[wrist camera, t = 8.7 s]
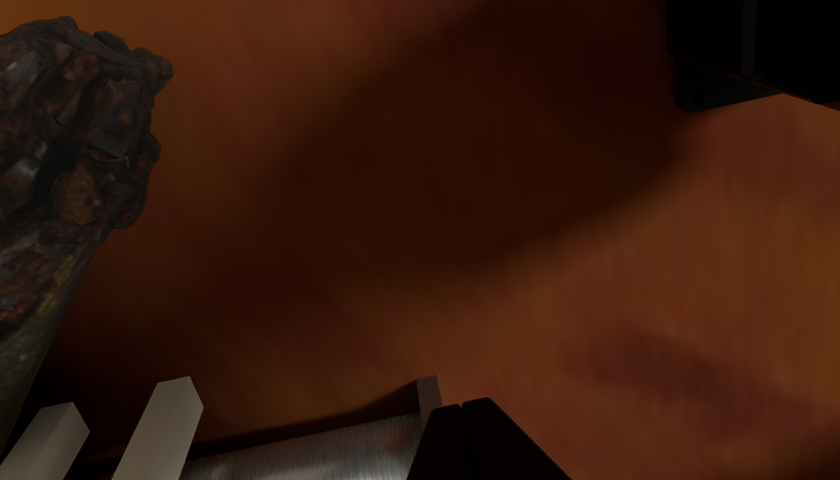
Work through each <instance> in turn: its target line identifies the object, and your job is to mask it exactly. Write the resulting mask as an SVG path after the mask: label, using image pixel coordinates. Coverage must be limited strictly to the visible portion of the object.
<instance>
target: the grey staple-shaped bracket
mask: <svg viewBox="0 0 840 480" xmlns="http://www.w3.org/2000/svg"><path fill="white" fill-rule="evenodd" d="M203 408H204V406H203V404H202V402H201V400H200V398H199V396H198V393H197V391H196V389H195V387H194V385H193V383H192V380H191V378H190V376H187V377H182V378H178V379H173V380H169V381H164V382H159V383H157V385H156V387H155V389H154V392H153V394H152V396H151V398H150V400H149V402H148V404H147V406H146V408H145V410H144V413H143V415H142V417H141V419H140V421H139V423H138V425H137V427H136V429H135V431H134V434H133V436H132V438H131V440H130V442H129V444H128V446H127V448H126V450H125V452H124V455H123V457H122V459H121V461H120V463H119V465H118V467H117V469H116V471H115V473H114V476H113V478H112V480H179V477H180V474H181V471H182V468H183V465H184V462H185V459H186V457H187V454H188V451H189V448H190V445H191V442H192V439H193V437H194V434H195V431H196V428H197V425H198V422H199V419H200V416H201V414H202V411H203ZM89 433H90V430H89V429H88V427H87V425H86V424H85V422H84V420H83V418H82V417H81V415H80V413H79V411H78V410H77V408H76V406H75V405H74V403H73V401H72V402H67V403H63V404H58V405H54V406H49V407H44V408H41V409H40V410H39V412H38V413H37V414H36V416H35V417H34V419H33V420H32V421H31V423H30V424H29V426H28V427H27V429H26V430H25V431H24V433H23V434H22V436H21V437H20V438H19V440H18V441H17V443H16V444H15V445H14V447H13V448H12V450H11V451H10V453H9V454H8V455H7V457H6V458H5V460H4V461H3V462H2V464H1V465H0V480H63V479H64V477H65V475H66V473H67V472H68V470H69V468H70V466H71V465H72V463H73V461H74V459H75V458H76V456H77V454H78V452H79V451H80V449H81V447H82V445H83V444H84V442H85V440H86V438H87V436H88V435H89Z"/></svg>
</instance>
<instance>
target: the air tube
mask: <svg viewBox="0 0 840 480" xmlns="http://www.w3.org/2000/svg"><path fill="white" fill-rule="evenodd" d="M416 381H417V389H418V397H419V404H420V411H419V412H414V413H410V414H405V415H400V416H396V417H391V418H386V419H381V420H377V421H372V422H367V423H363V424H358V425H353V426H349V427H344V428H339V429H334V430H330V431H325V432H320V433H316V434H311V435H306V436H302V437H297V438H292V439H287V440H283V441H278V442H273V443H269V444H264V445H259V446H255V447H250V448H245V449H240V450H236V451H231V452H226V453H222V454H217V455H212V456H207V457H203V458H198V459H193V460H189V461H185V462H184V465H183V468H182V471H181V474H180V477H179V480H406V479H407V476H408V473H409V470H410V468H411V465H412V462H413V459H414V457H415V454H416V451H417V448H418V446H419V443H420V440H421V437H422V435H423V432H424V429H425V426H426V424H427V421H428V418H429V416H430V413H431V411H432V410H433V409H435V408H439V407H444V406H443V401H442V397H441V392H440V388H439V383H438V379H437V375H434V376H429V377H425V378H420V379H416ZM114 473H115V472H112V473H108V474H104V475H102V476H101V477H99V478H98V479H97V480H112V478H113V476H114Z"/></svg>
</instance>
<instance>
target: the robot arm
mask: <svg viewBox="0 0 840 480" xmlns="http://www.w3.org/2000/svg"><path fill="white" fill-rule="evenodd" d="M667 51H668V54H670V55H671V56H672V57H673V58H674V99H675V103H676V104H677V106H678V107H679V108H682V109H684V110H686V111H688V112H699V111H704V110H708V109H713V108H717V107H722V106H727V105H731V104H736V103H740V102H745V101H750V100H754V99H759V98H763V97H768V96H772V95H777V94H782V93H784V94H787V95H790V96H793V97H797V98H800V99H803V100H806V101H809V102H812V103H815V104H819V105H822V106H825V107H828V108H832V109H835V110H838V111H840V0H667ZM695 88H697V92H698V93H697V96H696V98H695V99H694V100H693V101H691V102H689V101H688V95H689V93H690V92H691V91H692V90H693V89H695ZM462 412H463V414H462ZM463 417H464V418H463ZM464 421H465V422H464ZM465 426H466V427H465ZM466 430H467V431H466ZM467 435H468V436H467ZM468 439H469V440H468ZM469 444H470V445H469ZM470 448H471V449H470ZM471 453H472V454H471ZM472 457H473V458H472ZM474 466H475V467H474ZM476 475H477V476H476ZM406 480H571V479H570V478H569V477H568V476H567V475H566V474H565V472H564V471H563V470H562V469H561V468H560V467H559V466H558V465H557V464H556V463H555V462H554V461H553V460H552V459H551V458H550V457H549V456H548V455H547V454H546V453H545V452H544V451H543V450H542V449H541V448H540V447H539V446H538V445H537V444H536V443H535V442H534V441H533V440H532V439H531V438H530V437H529V436H528V435H527V434H526V433H525V432H524V431H523V430H522V429H521V428H520V427H519V426H518V425H517V424H516V423H515V422H514V421H513V420H512V419H511V418H510V417H509V416H508V415H507V414H506V413H505V412H504V411H503V410H502V409H501V408H500V407H499V406H498V405H497V404H496V403H495V402H494V401H493V400H491V399H490V398H488V397H484V398H480V399H475V400H471V401H466V402H464V403H463V404H462V409H461V406H460V405H458V404H453V405H448V406H444V407H439V408H435V409H433V410H432V411H431V413H430V416H429V418H428V421H427V424H426V426H425V429H424V432H423V435H422V437H421V440H420V443H419V446H418V448H417V451H416V454H415V457H414V459H413V462H412V465H411V468H410V470H409V473H408V476H407V479H406Z"/></svg>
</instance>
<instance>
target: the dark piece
mask: <svg viewBox="0 0 840 480" xmlns="http://www.w3.org/2000/svg"><path fill="white" fill-rule="evenodd" d="M172 76H173V67H172V65H171V63H170V62H169V61H168V60H167V59H165V58H163V57H161V56H157V55H153V54H152V53H151V52H150V51H149V50H147V49H143V48H140V47H138V48H137V49H135V50H134V51H131V50H130V49H128V47H127V45H126V43H125V42H124V40H123V39H122V38H120V37H118V36H116V35H114V34H111V33H109V32H107V31H100V32H95V33H94V35H93V36H92V35H90V34H89V33H87V32H84V31H82V30H80V29H78V27H77V24H76V22H75V20H74V19H72V18H71V17H69V16H64V17H58V18H57V19H51V20H37V21H33V22H29V23H25V24H21V25H19V26H18V27H16V28H15V29H13V30H12V31H10V32H9V33H7V34H3V35H0V459H1V456H2V454H3V451H4V449H5V446H6V444H7V441H8V439H9V437H10V435H11V432H12V430H13V428H14V425H15V423H16V421H17V418H18V416H19V414H20V411H21V409H22V406H23V404H24V402H25V400H26V397H27V395H28V393H29V390H30V388H31V385H32V383H33V380H34V378H35V376H36V374H37V373H38V371H39V369H40V367H41V365H42V363H43V360H44V358H45V356H46V354H47V352H48V349H49V347H50V345H51V343H52V340H53V338H54V336H55V334H56V332H57V329H58V327H59V325H60V323H61V321H62V319H63V317H64V315H65V313H66V310H67V308H68V306H69V304H70V302H71V300H72V298H73V295H74V293H75V291H76V289H77V287H78V285H79V282H80V280H81V278H82V276H83V274H84V272H85V270H86V268H87V266H88V264H89V262H90V260H91V259H92V257H93V255H94V253H95V251H96V249H97V247H98V245H99V244H101V243H103V242H104V241H105V239H106V238H107V236H108V235H109V233H110V231H111V230H112V229H114V228H117V229H121V230H125V229H127V228H129V227H130V226H132V225H133V224H134V223H135V221H136V220H137V218H138V217H139V215H140V214H141V212H142V211H143V209H144V206H145V202H146V198H147V187H148V182H149V175H150V173H151V171H152V167H153V165H156V164H155V163H156V162H157V160H158V159H159V155H160V151H161V146H160V144H159V142H158V141H157V140H156V139H155V137H154V136H153V135H152V134H151V133H150V126H151V112H150V110H151V109H152V108H153V107H154V96H156V95H157V94H158V93H159V92H160V91H161V90H162V89H163V88H164V87H165V86H166V85H167V83H168V82H169V80H170V79H171V78H172Z"/></svg>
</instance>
